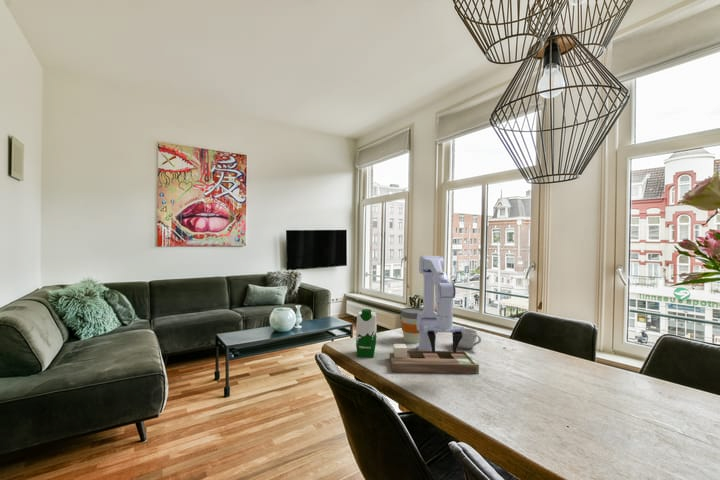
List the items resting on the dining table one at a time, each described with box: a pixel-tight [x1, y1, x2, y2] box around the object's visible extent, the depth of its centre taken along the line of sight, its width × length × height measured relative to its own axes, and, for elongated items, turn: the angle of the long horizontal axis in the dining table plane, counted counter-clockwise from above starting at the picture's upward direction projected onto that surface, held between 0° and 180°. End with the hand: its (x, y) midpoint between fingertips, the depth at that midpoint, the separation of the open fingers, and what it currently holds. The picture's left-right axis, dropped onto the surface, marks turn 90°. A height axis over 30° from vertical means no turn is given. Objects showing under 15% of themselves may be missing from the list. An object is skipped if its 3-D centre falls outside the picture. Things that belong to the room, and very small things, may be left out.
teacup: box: [457, 327, 482, 350], centre depth 156 cm, size 14×11×8 cm
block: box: [392, 343, 408, 358], centre depth 138 cm, size 5×5×4 cm
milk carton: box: [355, 308, 378, 358], centre depth 145 cm, size 9×9×20 cm
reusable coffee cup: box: [400, 307, 423, 344], centre depth 166 cm, size 13×12×15 cm
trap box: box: [389, 349, 480, 374], centre depth 135 cm, size 15×34×3 cm, turn 91°
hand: (443, 351), depth 122 cm, fingers open, 7 cm apart
